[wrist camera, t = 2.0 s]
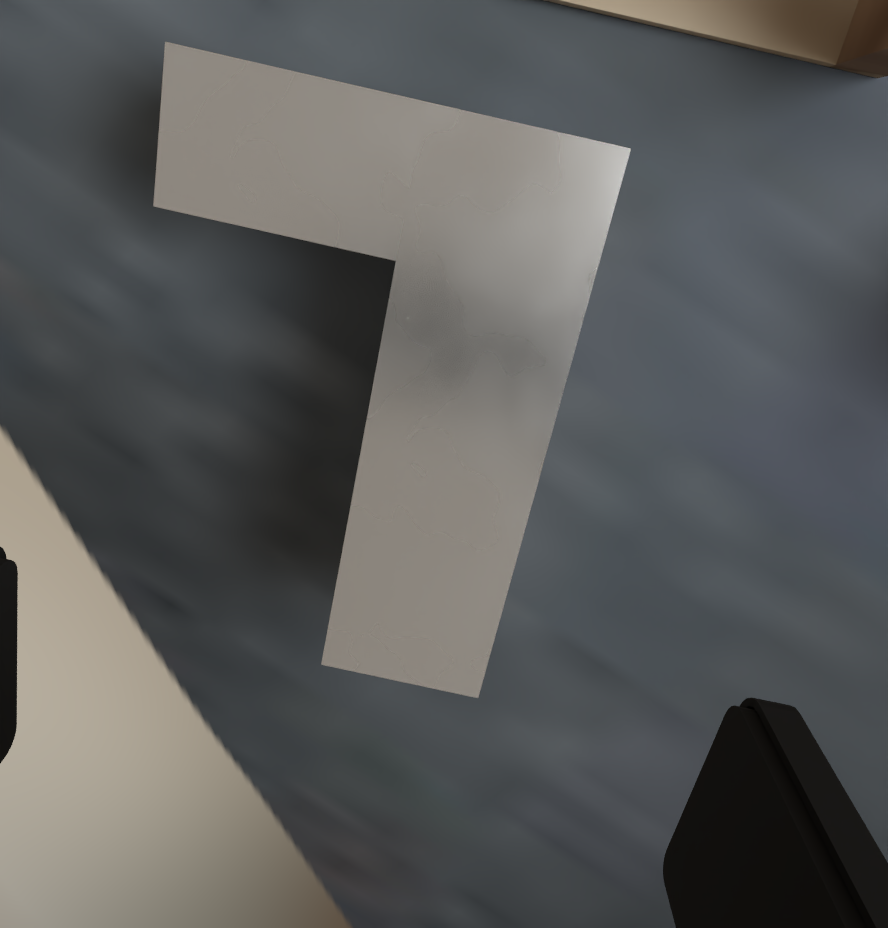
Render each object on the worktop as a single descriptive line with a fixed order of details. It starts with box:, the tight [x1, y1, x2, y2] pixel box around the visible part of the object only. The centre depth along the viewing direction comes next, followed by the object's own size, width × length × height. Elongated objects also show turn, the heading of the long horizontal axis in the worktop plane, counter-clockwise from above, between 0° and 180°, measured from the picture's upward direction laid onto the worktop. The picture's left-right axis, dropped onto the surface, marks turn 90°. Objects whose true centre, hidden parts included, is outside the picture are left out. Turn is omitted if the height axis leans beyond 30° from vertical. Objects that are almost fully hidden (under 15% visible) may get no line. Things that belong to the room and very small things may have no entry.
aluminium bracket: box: [153, 42, 631, 698], centre depth 19 cm, size 13×9×5 cm
